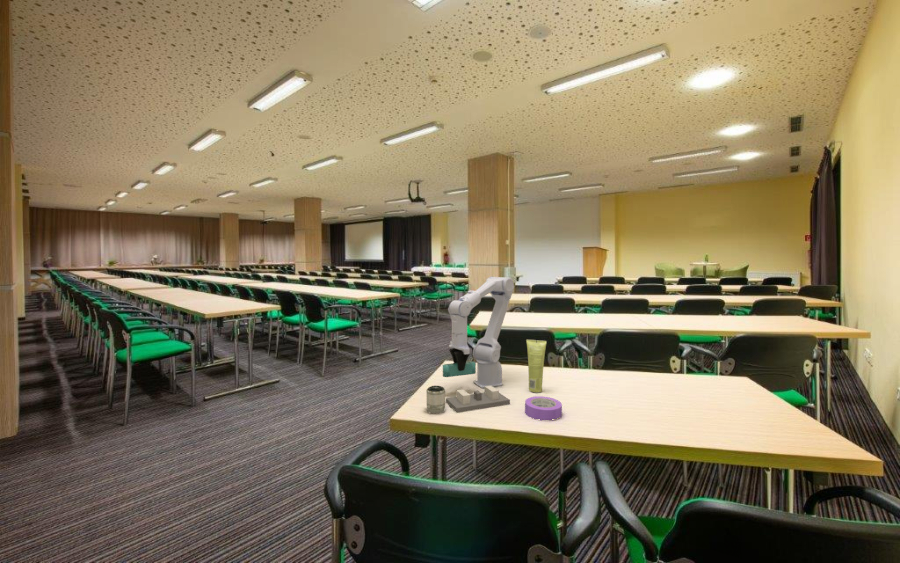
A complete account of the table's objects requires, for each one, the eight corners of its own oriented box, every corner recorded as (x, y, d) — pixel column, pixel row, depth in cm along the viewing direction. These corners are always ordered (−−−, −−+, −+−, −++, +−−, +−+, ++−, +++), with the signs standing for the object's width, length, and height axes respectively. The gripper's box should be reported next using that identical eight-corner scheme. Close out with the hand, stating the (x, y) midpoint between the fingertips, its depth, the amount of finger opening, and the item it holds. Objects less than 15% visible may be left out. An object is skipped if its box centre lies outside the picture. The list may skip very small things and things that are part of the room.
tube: (537, 387, 153) (538, 338, 151) (546, 391, 148) (546, 340, 147) (525, 389, 150) (526, 339, 149) (534, 393, 146) (534, 342, 144)
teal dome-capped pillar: (473, 371, 149) (473, 361, 149) (476, 373, 146) (476, 363, 146) (441, 375, 145) (441, 364, 144) (444, 377, 142) (444, 366, 141)
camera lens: (443, 414, 127) (443, 391, 126) (424, 413, 128) (424, 389, 127) (447, 407, 133) (446, 384, 132) (429, 406, 134) (428, 383, 134)
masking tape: (568, 413, 128) (568, 402, 127) (549, 424, 119) (549, 412, 119) (537, 404, 136) (537, 393, 136) (517, 414, 128) (517, 402, 127)
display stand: (496, 394, 145) (496, 382, 145) (509, 404, 136) (510, 391, 135) (445, 402, 138) (445, 389, 137) (456, 412, 128) (456, 399, 128)
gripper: (442, 330, 150) (442, 365, 151) (456, 337, 136) (456, 375, 137) (459, 328, 152) (459, 363, 153) (475, 335, 139) (475, 373, 140)
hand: (459, 369), depth 145 cm, fingers closed on teal dome-capped pillar, 3 cm apart
